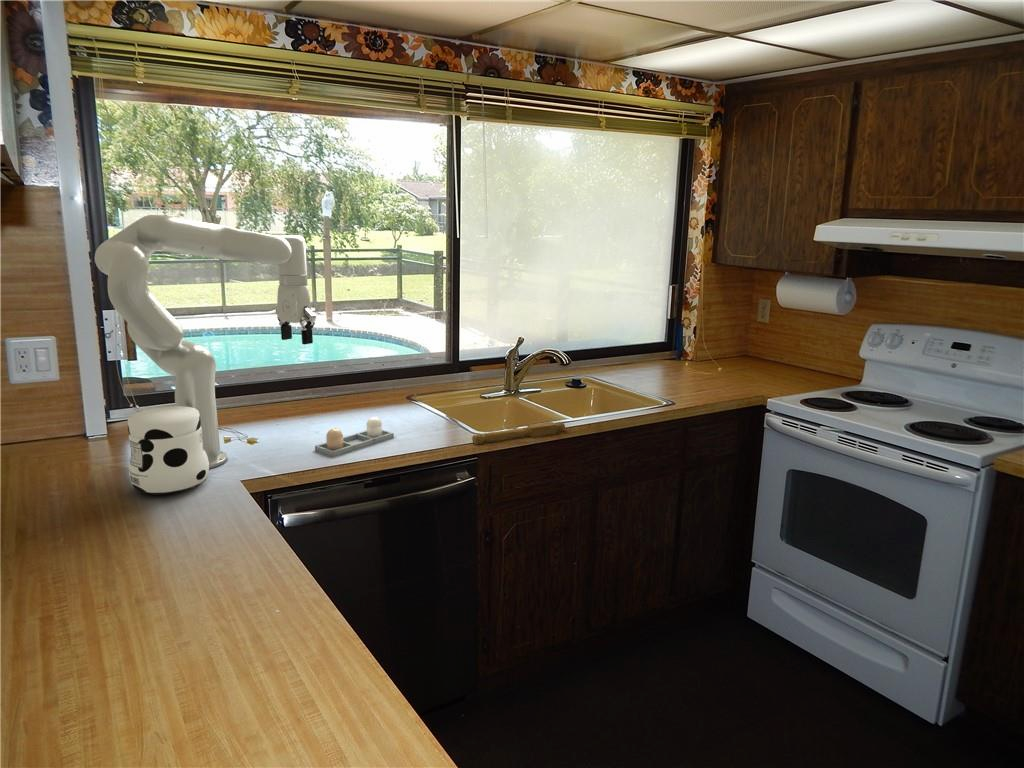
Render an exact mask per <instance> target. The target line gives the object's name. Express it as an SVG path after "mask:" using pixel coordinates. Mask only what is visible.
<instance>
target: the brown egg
mask: <svg viewBox="0 0 1024 768" xmlns="http://www.w3.org/2000/svg"><path fill="white" fill-rule="evenodd" d="M325 437H326V442H327V449H329V450H331V451H335V450H338V449H341V448H343V437H344V434H343V432H342V431H341V430H340V429H339V428H336V427H334V428H331V429H329V430H328V431H327V433H326V436H325Z"/></svg>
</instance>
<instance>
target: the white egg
mask: <svg viewBox="0 0 1024 768" xmlns="http://www.w3.org/2000/svg"><path fill="white" fill-rule="evenodd" d="M366 430H367V436H368V437H371V438H376V437H379V436H382V430H383V422H382V420H381V419H380V418H379V417H377V416H372V417H369V418H368V419H367V421H366Z"/></svg>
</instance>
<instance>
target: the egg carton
mask: <svg viewBox="0 0 1024 768" xmlns="http://www.w3.org/2000/svg"><path fill="white" fill-rule="evenodd" d="M394 435H395V434H394V432H393V431H388V430H385V429H382V436H379V437H376V438H371V437H368V436H367V429H366V430H363V431H360V432H356V433H354V434H350V435H346V436H343V448H341V449H338V450H335V451H331V450H329V449H327V441H326V442H324V443H321V444H317V445H314V449H313V450H312V452H313V453H316V454H319V455H321V456H323V457H327V458H330V459H335V458H338V457H341V456H345V455H347V454H350V453H354V452H358V451H361V450H363V449H366V448H370V447H373V446H376V445H379V444H382V443H385V442H387V441H391V440H395V439H397V438H398V437H397V436H394Z"/></svg>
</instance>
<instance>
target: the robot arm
mask: <svg viewBox="0 0 1024 768" xmlns="http://www.w3.org/2000/svg"><path fill="white" fill-rule="evenodd" d="M306 250H307V247H306V240H305V238H304V237H303V236H302V235H299V234H295V235H294V234H292V235H289V234H287V235H280V236H279V235H272V234H267V233H262V232H261V233H260V232H256V231H249V230H244V229H238V228H235V227H231V226H227V225H221V224H216V223H210V222H206V221H199V220H194V219H188V218H183V217H177V216H172V215H171V216H170V215H163V214H159V215H158V214H148V215H145V216H142V217H140V218H139V219H137V220H136V221H134V222H132V223H131V224H129V225H128V226H126V227H125V228H123V229H121V230H120V231H119V232H117V233H116V234H114V235H112V236H111V237H109V238H108V239H106V240H105V241H104V242H102V243H101V244H100V245H99V246H98V247H97V248H96V249H95V252H94V263H95V265H96V267H97V268H98V270H99V271H100V272H101V273H103V274H104V275H106V276H108V277H107V293H108V298H109V301H110V302H111V304H112V306H113V308H114V309H115V310H116V312H117V313H118V314H119V315H120V316H121V318H123V320H124V321H125V322H126V323H127V327H126V328H127V332H128V335H129V337H130V339H131V340H132V341H133V342H134V345H136V346H137V347H138V348H140V350H141V351H142V352H143V353H144V354H145V355H146V356H147V357H148V358H149V359H150V360H151V361H152V362H154V364H156V366H158V368H160V369H161V370H162V371H164V372H165V373H167V374H169V375H171V376H174V377H175V386H174V387H175V389H174V402H175V403H174V406H184V407H191V408H195V409H197V410H198V411H199V414H200V419H201V428H202V442H203V447H204V449H205V452H206V454H207V457H208V461H209V469H213V468H215V467H219V466H221V465H223V464H224V463H226V462H227V461H228V455H227V453H226V452H224V451H221V444H220V433H219V424H218V423H219V422H218V411H217V402H216V388H215V387H216V386H215V385H216V384H215V381H216V371H217V368H216V367H217V366H216V360H215V357H214V355H213V353H212V352H211V351H210V350H209V349H207V348H206V347H205V346H203V345H200V344H197V343H194V342H191V341H187V340H185V338H184V330H183V327H182V324H180V322H179V321H178V320H177V319H176V318H175V317H174V316H173V315H172V314H171V313H170V312H169V310H167V309H166V308H165V307H164V306H163V304H161V303H160V301H159V300H158V299H157V298H156V297H155V295H154V294H153V293H152V292H151V290H150V288H149V287H148V282H147V279H148V272H149V268H150V259H149V256H151V255H153V254H154V253H155V252H156V251H163V252H168V253H175V254H182V255H189V256H194V257H195V256H196V257H203V258H209V259H216V260H227V261H231V260H234V261H243V262H250V263H257V264H264V265H269V266H270V265H272V266H277V269H278V288H277V301H276V303H277V304H276V305H277V307H276V308H275V313H276V316H277V317H276V318H277V320H278V323H279V324H278V325H279V327H280V338H281V340H282V341H285V340H292V339H293V332H292V329H293V327H292V324H298V323H299V325H300V327H301V328H302V330H301V344H302V345H311V344H313V342H314V341H313V340H314V339H313V336H314V335H313V330H314V326H315V324H316V323H315V322H316V318H317V315H316V314H315V313H314V312H313V311H312V303H311V297H310V291H309V286H308V285H309V284H308V267H307V251H306ZM291 323H292V324H291Z"/></svg>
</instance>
